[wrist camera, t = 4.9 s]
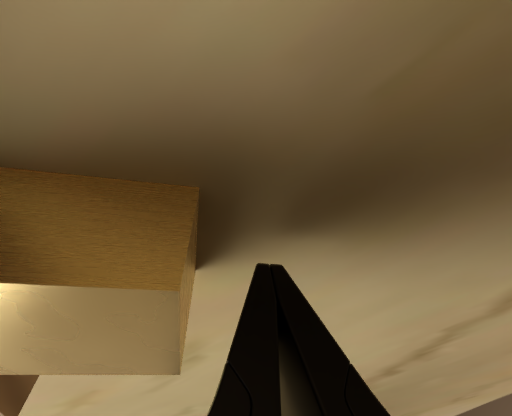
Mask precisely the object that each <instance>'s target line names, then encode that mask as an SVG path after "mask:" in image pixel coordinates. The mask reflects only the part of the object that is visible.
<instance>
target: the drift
mask: <svg viewBox="0 0 512 416" xmlns="http://www.w3.org/2000/svg"><path fill="white" fill-rule="evenodd" d="M198 203H199V187H189V186H180V185H170V184H160V183H150V182H141V181H131V180H121V179H111V178H102V177H92V176H82V175H72V174H63V173H53V172H43V171H33V170H24V169H14V168H4V167H0V375H180V372H181V365H182V358H183V351H184V344H185V338H186V331H187V324H188V317H189V310H190V304H191V297H192V290H193V283H194V276H195V268H196V246H197V225H198Z"/></svg>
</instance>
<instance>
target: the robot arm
mask: <svg viewBox="0 0 512 416" xmlns="http://www.w3.org/2000/svg"><path fill="white" fill-rule="evenodd" d="M207 416H390V414H389V413H388V412H387V411H386V409H385V408H384V407H383V406H382V404H381V403H380V402H379V401H378V399H377V398H376V397H375V395H374V394H373V393H372V391H371V390H370V389H369V387H368V386H367V385H366V383H365V382H364V381H363V379H362V378H361V376H360V375H359V374H358V372H357V371H356V369H355V368H354V366H353V365H352V364H350V361H349V359H348V358H347V357H346V355H345V354H344V352H343V351H342V349H341V348H340V347H339V345H338V344H337V342H336V341H335V340H334V338H333V337H332V335H331V334H330V332H329V331H328V330H327V328H326V327H325V325H324V324H323V322H322V321H321V320H320V318H319V317H318V315H317V314H316V312H315V311H314V310H313V308H312V307H311V305H310V304H309V302H308V301H307V300H306V298H305V297H304V295H303V294H302V293H301V291H300V290H299V288H298V287H297V285H296V284H295V283H294V281H293V280H292V278H291V277H290V275H289V274H288V273H287V271H286V270H285V268H284V267H283V266H282V265H278V264H270V265H269V264H263V263H258V264H257V265H256V268H255V271H254V274H253V277H252V280H251V284H250V287H249V290H248V293H247V296H246V300H245V303H244V306H243V309H242V313H241V316H240V319H239V322H238V325H237V329H236V332H235V335H234V338H233V342H232V345H231V348H230V351H229V354H228V358H227V361H226V364H225V367H224V370H223V373H222V376H221V379H220V382H219V385H218V388H217V391H216V394H215V397H214V400H213V402H212V405H211V407H210V409H209V412H208V414H207Z"/></svg>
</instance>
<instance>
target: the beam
mask: <svg viewBox="0 0 512 416" xmlns="http://www.w3.org/2000/svg"><path fill="white" fill-rule="evenodd" d="M38 377H39V375H0V416H18V415H19V413H20V411H21V409H22V407H23V405H24V403H25V401H26V399H27V398H28V396H29V394H30V392H31V390H32V388H33V386H34V384H35V382H36V380H37V379H38Z"/></svg>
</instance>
